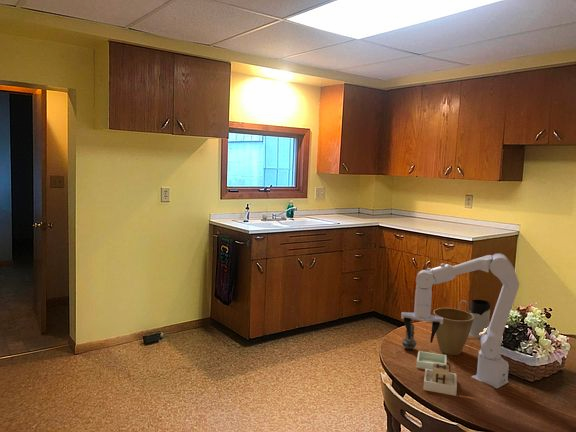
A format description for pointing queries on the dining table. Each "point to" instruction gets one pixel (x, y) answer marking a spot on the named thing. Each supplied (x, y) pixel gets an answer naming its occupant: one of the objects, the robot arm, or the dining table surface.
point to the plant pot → (453, 329)
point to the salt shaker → (409, 343)
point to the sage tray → (429, 360)
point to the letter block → (440, 373)
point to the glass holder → (479, 316)
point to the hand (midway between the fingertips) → (420, 339)
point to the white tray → (440, 387)
